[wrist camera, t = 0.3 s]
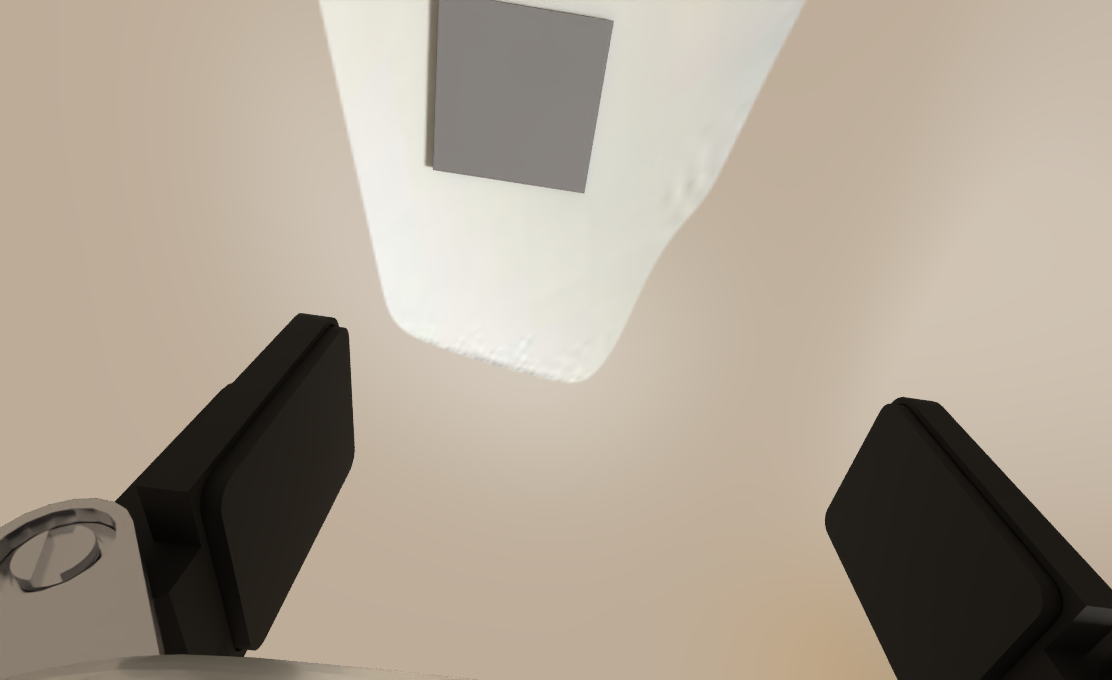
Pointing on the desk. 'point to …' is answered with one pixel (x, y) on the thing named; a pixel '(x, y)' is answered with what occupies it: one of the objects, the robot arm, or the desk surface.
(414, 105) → the desk surface
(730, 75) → the desk surface
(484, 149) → the coaster
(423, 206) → the desk surface
